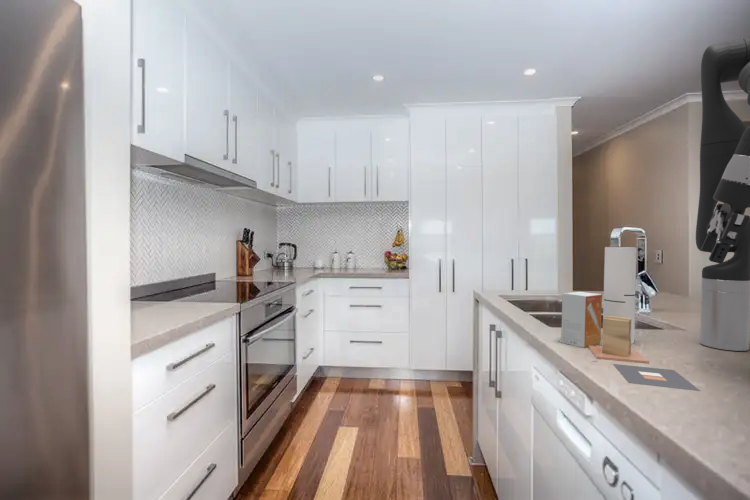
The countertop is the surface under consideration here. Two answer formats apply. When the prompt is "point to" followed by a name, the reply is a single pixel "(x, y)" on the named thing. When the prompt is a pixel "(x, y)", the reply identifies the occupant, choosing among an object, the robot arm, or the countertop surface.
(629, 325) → the maple block
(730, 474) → the countertop surface
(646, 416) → the countertop surface
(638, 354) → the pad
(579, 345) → the small box
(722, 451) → the countertop surface
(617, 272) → the cylindrical container
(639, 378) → the mat
